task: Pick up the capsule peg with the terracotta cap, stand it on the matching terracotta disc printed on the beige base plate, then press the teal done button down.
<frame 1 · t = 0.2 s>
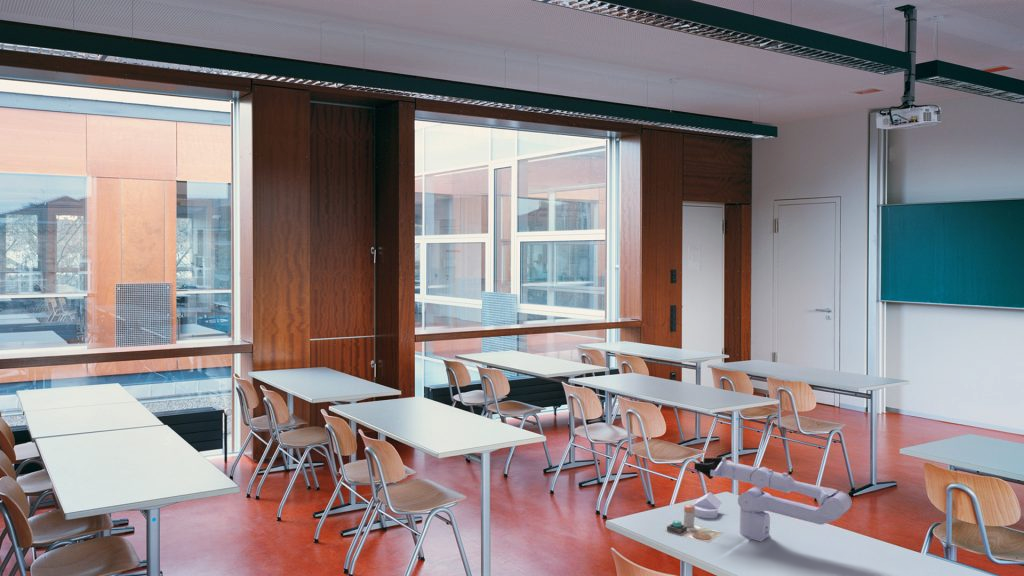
hand: (699, 463, 284), 21 cm above the table, tool horizontal, fingers open, 7 cm apart
wedge on round base: (706, 515, 294), on the table
capsule peg: (688, 526, 278), point 1 cm above the table, touching beige base plate
beige base plate: (694, 533, 273), on the table
done button: (677, 524, 273), point 3 cm above the table, slide at 0.0 cm
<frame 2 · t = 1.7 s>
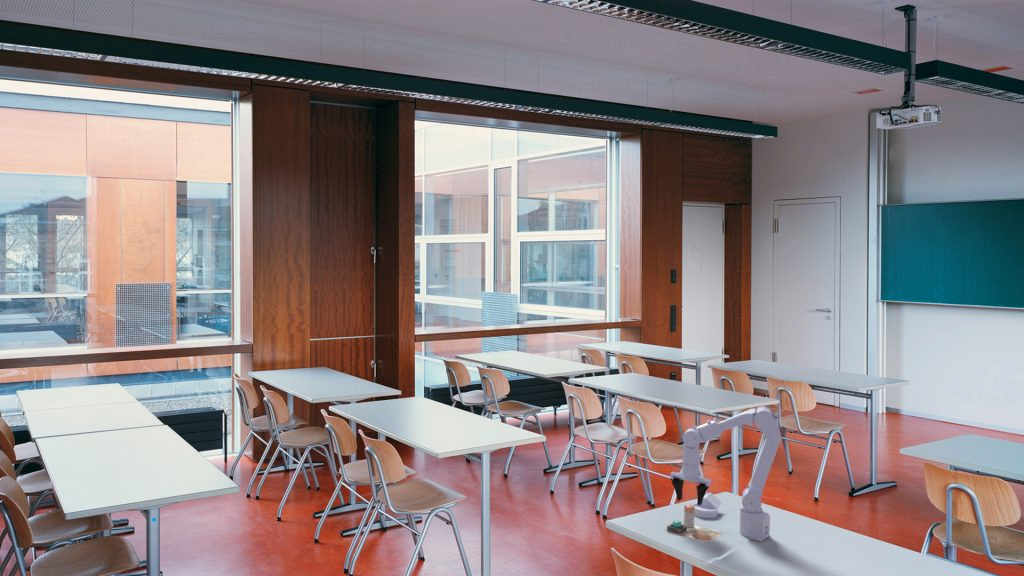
hand: (689, 502, 278), 9 cm above the table, tool pointing down, fingers open, 7 cm apart
nothing on the table moved.
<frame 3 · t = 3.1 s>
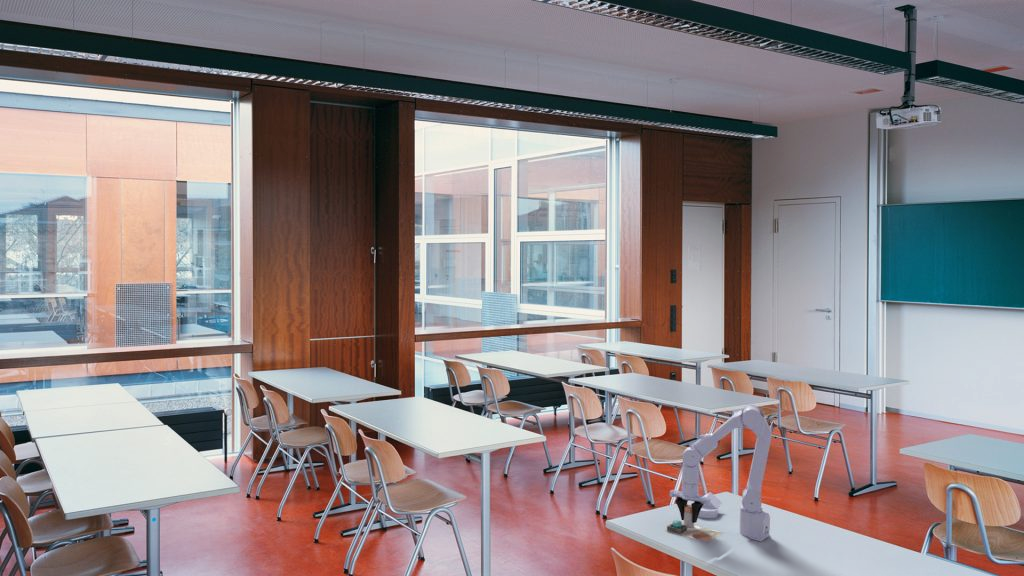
hand: (689, 520, 278), 3 cm above the table, tool pointing down, fingers closed on capsule peg, 4 cm apart
capsule peg: (688, 526, 278), point 1 cm above the table, touching beige base plate, gripper
everything else where it was.
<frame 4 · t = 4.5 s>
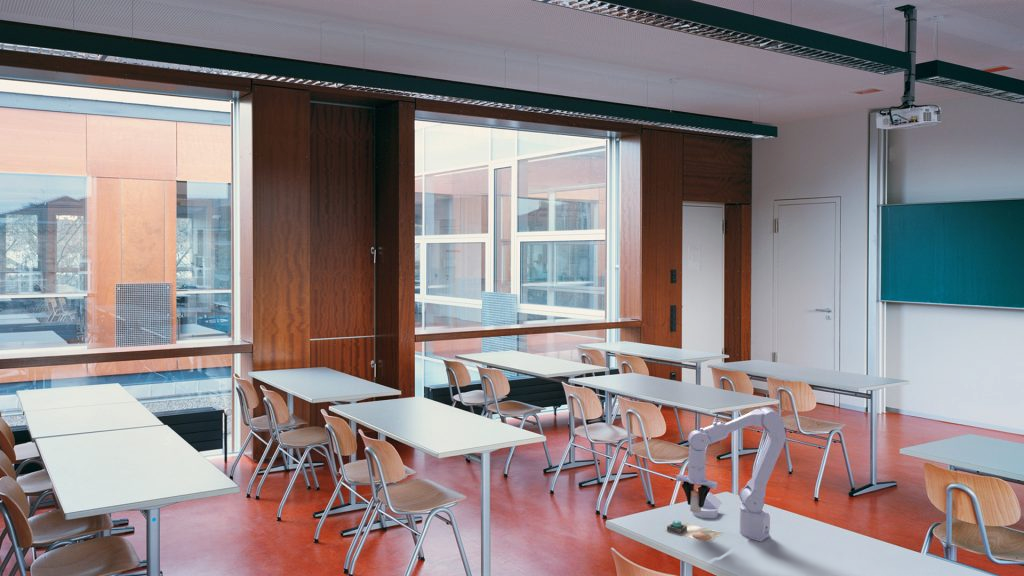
hand: (695, 505, 273), 10 cm above the table, tool pointing down, fingers closed on capsule peg, 4 cm apart
capsule peg: (695, 510, 273), point 8 cm above the table, touching gripper
everything else where it was.
when the fingers open (4 cm above the table, at t = 6.3 s): capsule peg stays where it is, resting on beige base plate.
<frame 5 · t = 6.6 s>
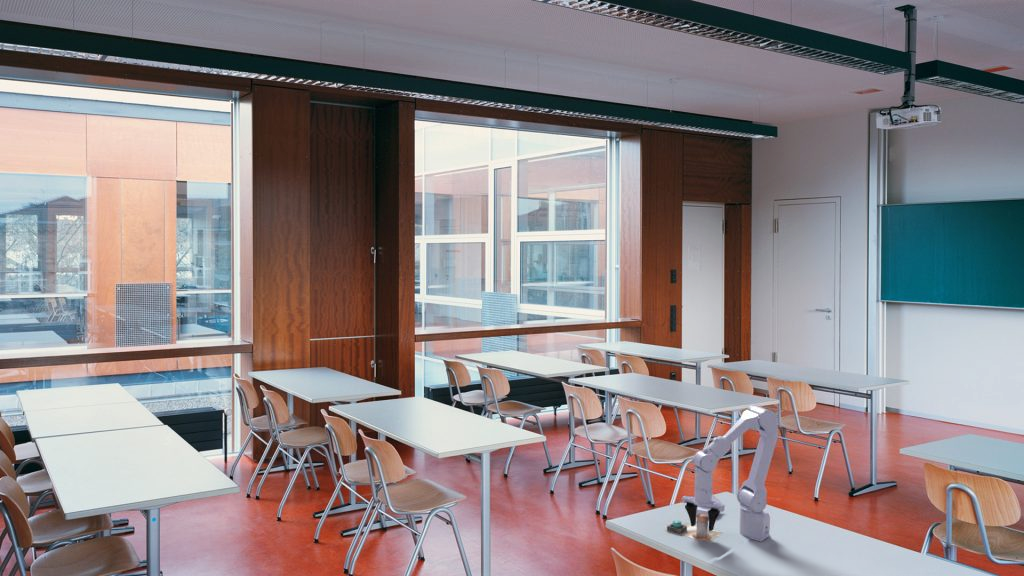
hand: (702, 527, 268), 4 cm above the table, tool pointing down, fingers open, 6 cm apart
capsule peg: (701, 536, 268), point 1 cm above the table, touching beige base plate
everything else where it was.
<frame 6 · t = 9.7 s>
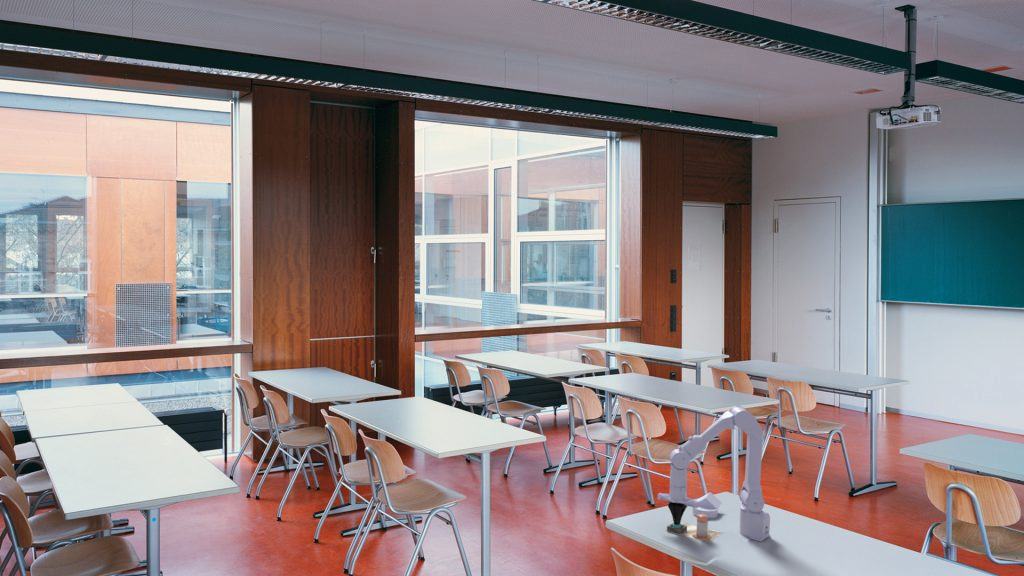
hand: (677, 524, 273), 3 cm above the table, tool pointing down, fingers closed, pressing on done button
done button: (677, 526, 273), point 2 cm above the table, slide at 0.7 cm, touching gripper
everything else where it was.
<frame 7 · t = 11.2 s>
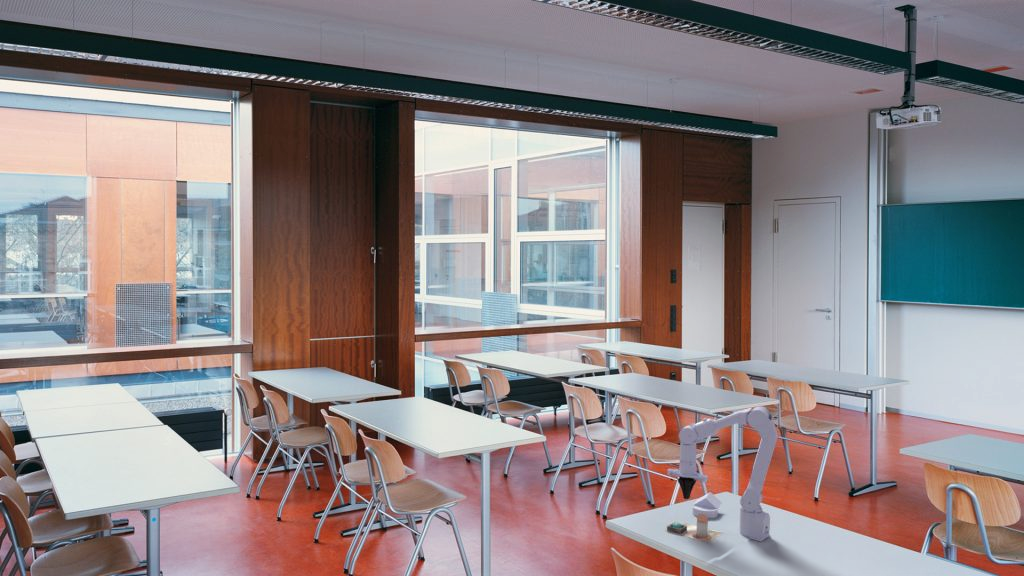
hand: (686, 498, 282), 9 cm above the table, tool pointing down, fingers closed
done button: (677, 526, 273), point 2 cm above the table, slide at 0.7 cm
everything else where it was.
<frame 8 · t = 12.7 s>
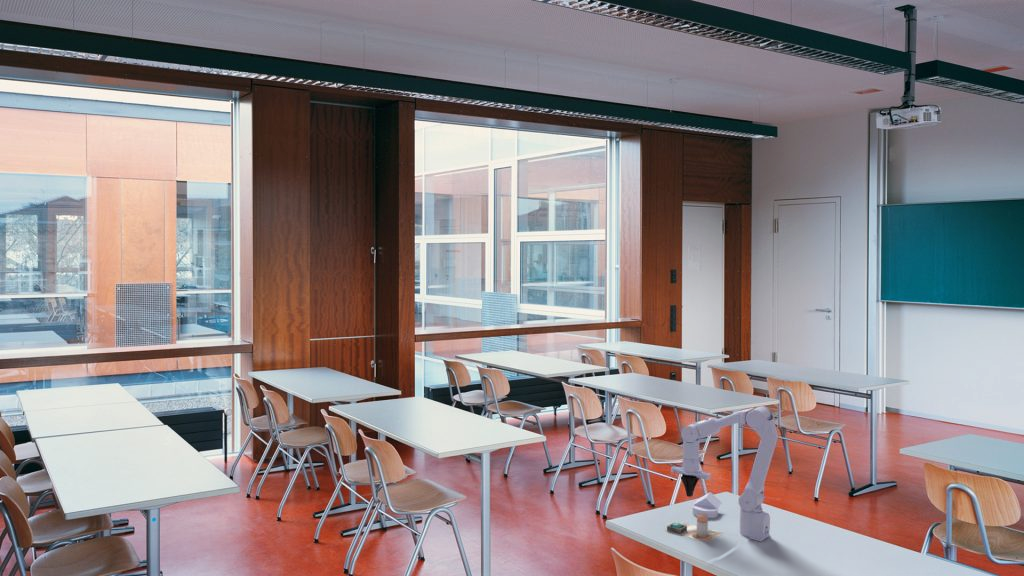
hand: (689, 495, 284), 9 cm above the table, tool pointing down, fingers closed
nothing on the table moved.
at the end: capsule peg 0.0 cm from the target spot, point 0.8 cm above the table; capsule peg tilted 0°; done button slide at 0.7 cm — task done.
